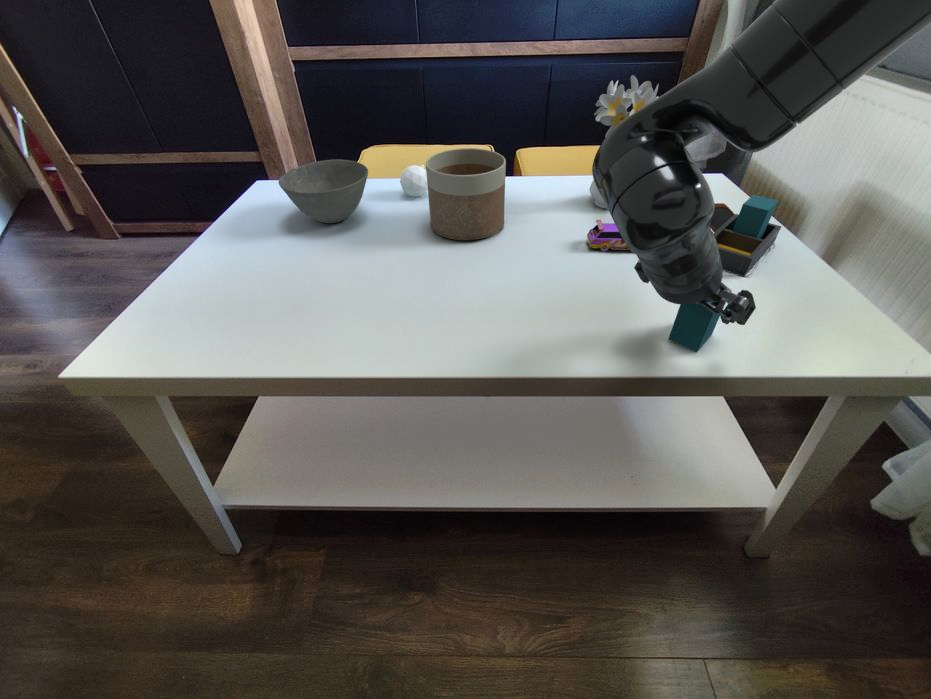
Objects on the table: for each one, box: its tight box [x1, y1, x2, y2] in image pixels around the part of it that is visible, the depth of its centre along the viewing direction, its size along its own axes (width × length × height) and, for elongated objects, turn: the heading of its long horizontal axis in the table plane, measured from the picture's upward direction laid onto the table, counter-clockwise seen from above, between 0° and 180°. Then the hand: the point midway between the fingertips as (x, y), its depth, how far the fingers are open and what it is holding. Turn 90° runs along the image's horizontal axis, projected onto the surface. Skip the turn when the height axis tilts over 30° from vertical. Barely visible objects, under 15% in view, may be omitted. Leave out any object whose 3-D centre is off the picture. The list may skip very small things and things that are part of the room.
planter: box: [425, 147, 507, 241], centre depth 94 cm, size 16×16×14 cm
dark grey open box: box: [713, 213, 782, 277], centre depth 86 cm, size 9×16×4 cm, turn 137°
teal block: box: [667, 302, 727, 353], centre depth 66 cm, size 4×6×8 cm
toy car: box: [586, 219, 631, 252], centre depth 88 cm, size 6×12×5 cm, turn 86°
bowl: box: [278, 158, 369, 224], centre depth 100 cm, size 19×19×10 cm
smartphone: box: [710, 202, 735, 234], centre depth 97 cm, size 7×1×15 cm
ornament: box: [399, 164, 428, 198], centre depth 109 cm, size 7×7×8 cm
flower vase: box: [588, 74, 660, 210], centre depth 96 cm, size 13×18×25 cm
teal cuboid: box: [733, 194, 779, 239], centre depth 86 cm, size 4×6×8 cm
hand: (698, 303), depth 63 cm, fingers open, 8 cm apart
